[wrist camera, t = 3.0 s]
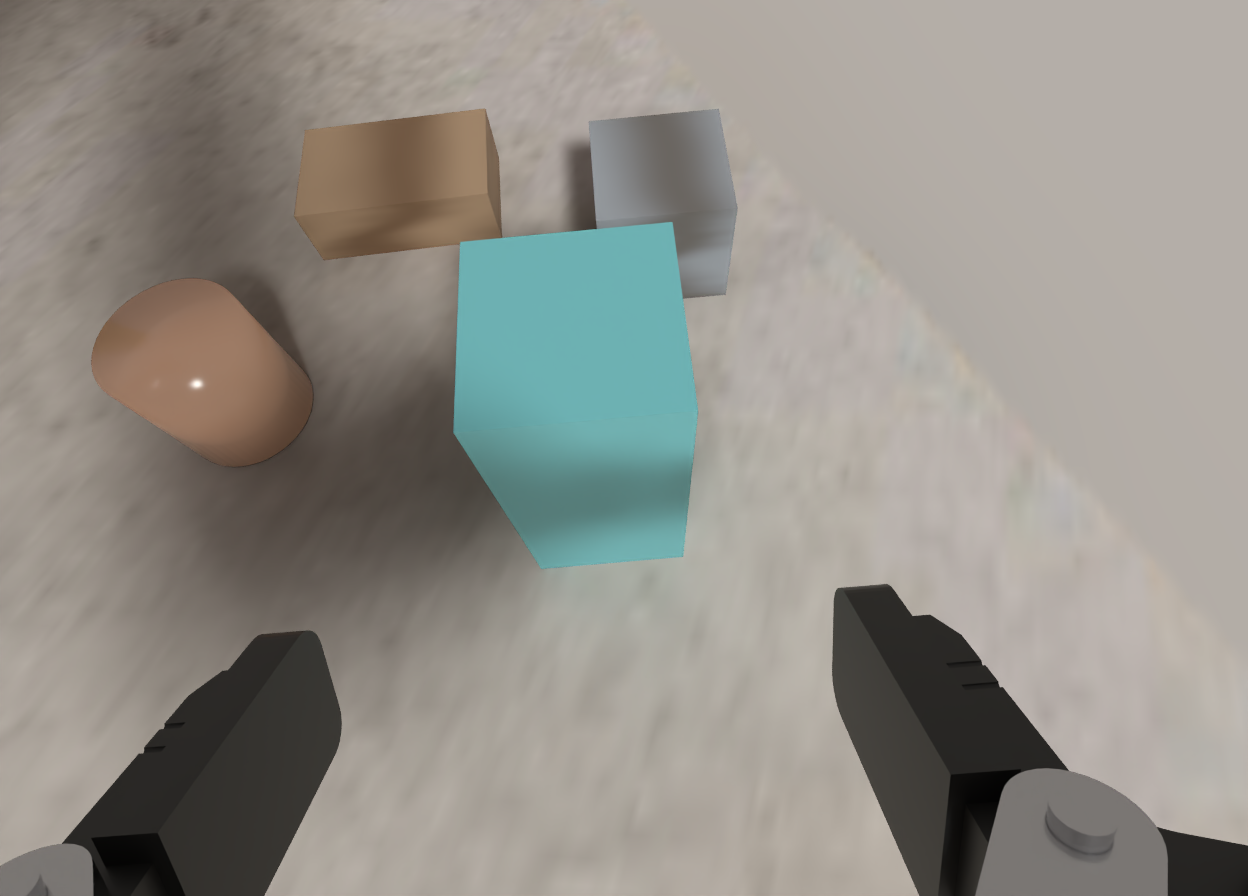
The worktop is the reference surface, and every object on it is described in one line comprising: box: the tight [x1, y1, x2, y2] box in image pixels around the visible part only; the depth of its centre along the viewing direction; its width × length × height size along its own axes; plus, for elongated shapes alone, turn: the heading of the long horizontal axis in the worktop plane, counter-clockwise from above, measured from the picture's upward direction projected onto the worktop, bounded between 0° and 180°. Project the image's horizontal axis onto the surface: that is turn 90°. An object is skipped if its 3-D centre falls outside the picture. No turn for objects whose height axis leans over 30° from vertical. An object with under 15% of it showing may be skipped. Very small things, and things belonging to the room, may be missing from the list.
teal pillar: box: [453, 222, 698, 569], centre depth 20 cm, size 5×5×11 cm
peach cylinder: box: [91, 278, 313, 467], centre depth 25 cm, size 5×5×5 cm
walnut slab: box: [294, 109, 502, 260], centre depth 30 cm, size 8×5×3 cm, turn 96°
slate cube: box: [589, 109, 737, 298], centre depth 27 cm, size 5×5×5 cm
